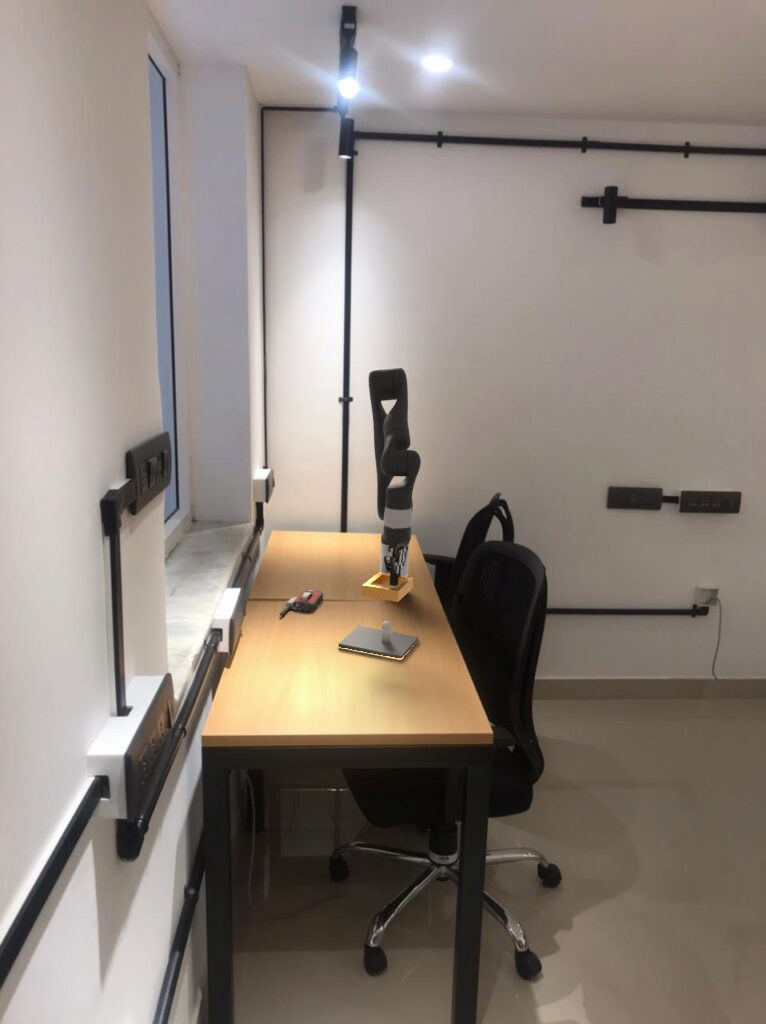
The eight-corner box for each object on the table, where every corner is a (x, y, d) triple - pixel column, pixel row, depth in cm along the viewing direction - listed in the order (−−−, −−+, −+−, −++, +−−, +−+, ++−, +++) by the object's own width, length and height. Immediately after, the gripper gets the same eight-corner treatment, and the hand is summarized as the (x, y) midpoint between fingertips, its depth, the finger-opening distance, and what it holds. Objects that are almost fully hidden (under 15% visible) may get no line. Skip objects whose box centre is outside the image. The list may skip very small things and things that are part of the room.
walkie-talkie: (298, 596, 246) (277, 618, 227) (298, 583, 245) (277, 604, 226) (325, 599, 244) (305, 622, 225) (325, 586, 243) (305, 608, 224)
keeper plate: (358, 630, 219) (359, 606, 218) (418, 641, 213) (419, 617, 212) (338, 648, 207) (339, 623, 205) (401, 661, 200) (402, 635, 199)
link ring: (378, 582, 213) (379, 572, 212) (412, 588, 209) (413, 577, 209) (362, 595, 202) (362, 585, 201) (397, 602, 198) (398, 591, 198)
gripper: (393, 516, 214) (390, 575, 218) (375, 527, 201) (372, 589, 205) (418, 519, 211) (415, 579, 215) (402, 531, 199) (399, 594, 203)
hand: (394, 584), depth 210 cm, fingers closed on link ring, 1 cm apart
